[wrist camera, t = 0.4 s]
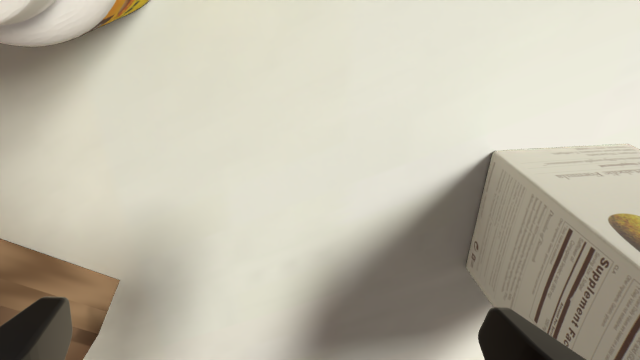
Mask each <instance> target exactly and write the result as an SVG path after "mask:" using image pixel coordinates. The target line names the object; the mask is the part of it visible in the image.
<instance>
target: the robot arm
mask: <svg viewBox="0 0 640 360" xmlns="http://www.w3.org/2000/svg"><path fill="white" fill-rule="evenodd" d="M72 331H73V329H72V319H71V310H70V303H69V300H68V298H66V297H51V296H46V297H42V298H40V299H38V300H37V301H35V302H34V303H32V304H31V305H30V306H28V307H27V308H25V309H24V310H23V311H21V312H20V313H18V314H17V315H15V316H14V317H13V318H11V319H10V320H8V321H7V322H5V323H4V324H3V325H1V326H0V360H65V357H66V354H67V351H68V348H69V345H70V342H71V338H72ZM478 340H479V344H480V347H481V350H482V353H483V356H484V359H485V360H586V359H585V358H583V357H582V356H580V355H579V354H577V353H576V352H574V351H573V350H571V349H570V348H568V347H567V346H565V345H564V344H562V343H561V342H559V341H558V340H556V339H555V338H553V337H552V336H550V335H549V334H547V333H546V332H544V331H543V330H541V329H540V328H538V327H537V326H535V325H534V324H533V323H531V322H530V321H528V320H527V319H525V318H524V317H522V316H521V315H519V314H518V313H516V312H515V311H513V310H512V309H510V308H505V307H494V308H491V309H490V310H489V312H488V314H487V316H486V318H485V320H484V322H483V324H482V326H481V328H480V330H479V334H478Z"/></svg>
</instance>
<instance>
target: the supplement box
mask: <svg viewBox="0 0 640 360" xmlns="http://www.w3.org/2000/svg"><path fill="white" fill-rule="evenodd" d="M466 268H467V270H468V271H469V273H470V274H471V276H472V277H473V279H474V280H475V281H476V283H477V284H478V286H479V287H480V289H481V290H482V292H483V293H484V294H485V296H486V297H487V299H488V300H489V301H490V303H491V304H492V306H493V307H505V308H510V309H512V310H513V311H515V312H516V313H518V314H519V315H521V316H522V317H524V318H525V319H527V320H528V321H530V322H531V323H533V324H534V325H535V326H537V327H538V328H540V329H541V330H543V331H544V332H546V333H547V334H549V335H550V336H552V337H553V338H555V339H556V340H558V341H559V342H561V343H562V344H564V345H565V346H567V347H568V348H570V349H571V350H573V351H574V352H576V353H577V354H579V355H580V356H582V357H583V358H585V359H586V360H640V149H638V148H636V147H634V146H632V145H630V144H614V145H595V146H575V147H556V148H536V149H517V150H502V151H495V152H494V153H493V154H492V158H491V162H490V166H489V170H488V174H487V178H486V182H485V187H484V191H483V195H482V199H481V204H480V208H479V212H478V217H477V221H476V225H475V229H474V233H473V238H472V242H471V246H470V251H469V255H468V259H467V264H466Z"/></svg>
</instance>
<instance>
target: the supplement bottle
mask: <svg viewBox="0 0 640 360" xmlns="http://www.w3.org/2000/svg"><path fill="white" fill-rule="evenodd" d="M149 1H150V0H0V43H3V44H8V45H14V46H24V47H39V46H48V45H54V44H58V43H62V42H65V41H68V40H72V39H74V38H77V37H79V36H82V35H84V34H86V33H88V32H90V31H92V30H94V29H96V28H99V27H101V26H103V25H105V24H108V23H110V22H112V21H114V20H116V19H119V18H121V17H123V16H125V15H127V14H130V13H132V12H134V11H135V10H137V9H139V8H141V7H142V6H144V5H145V4H146V3H147V2H149Z"/></svg>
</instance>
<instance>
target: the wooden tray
mask: <svg viewBox="0 0 640 360" xmlns="http://www.w3.org/2000/svg"><path fill="white" fill-rule="evenodd" d="M119 281H120V280H117V279H114V278H111V277H109V276H106V275H103V274H100V273H97V272H94V271H91V270H88V269H86V268H83V267H80V266H77V265H74V264H71V263H68V262H65V261H63V260H60V259H57V258H54V257H51V256H48V255H45V254H42V253H40V252H37V251H34V250H31V249H28V248H25V247H22V246H19V245H17V244H14V243H11V242H8V241H5V240H2V239H0V326H1V325H3V324H4V323H5V322H7V321H8V320H10V319H11V318H13V317H14V316H15V315H17V314H18V313H20V312H21V311H23V310H24V309H25V308H27V307H28V306H30V305H31V304H32V303H34V302H35V301H37V300H38V299H40V298H42V297H46V296H51V297H66V298H68V300H69V303H70V310H71V319H72V329H73V331H72V338H71V342H70V345H69V348H68V351H67V354H66V357H65V360H83V358H84V357H85V355H86V353H87V352H88V350H89V349H90V347H91V345H92V344H93V342H94V340H95V339H96V337H97V336H98V334H99V331H100V329H101V326H102V324H103V321H104V319H105V316H106V314H107V311H108V309H109V306H110V304H111V301H112V299H113V296H114V294H115V291H116V289H117V286H118V284H119Z"/></svg>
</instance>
